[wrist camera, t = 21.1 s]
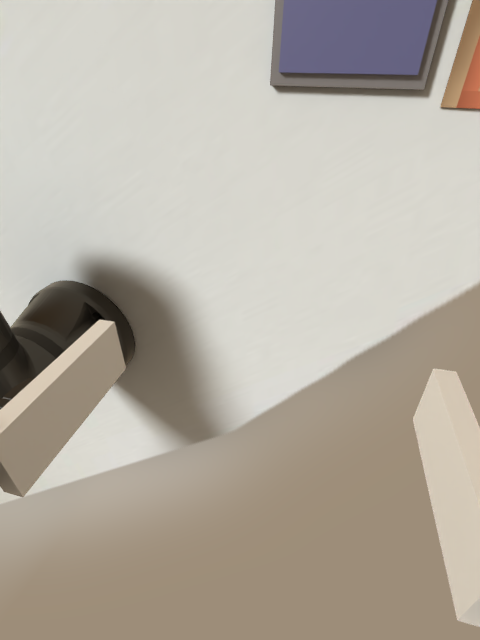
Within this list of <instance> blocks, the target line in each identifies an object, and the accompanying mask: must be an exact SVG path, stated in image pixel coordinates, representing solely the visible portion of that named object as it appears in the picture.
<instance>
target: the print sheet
mask: <svg viewBox="0 0 480 640" xmlns="http://www.w3.org/2000/svg"><path fill="white" fill-rule="evenodd" d="M441 107H451V108H477V109H480V0H473V1H472V4H471V7H470V11H469V14H468V17H467V21H466V24H465V27H464V31H463V34H462V37H461V40H460V44H459V47H458V50H457V54H456V57H455V60H454V64H453V67H452V70H451V74H450V77H449V80H448V83H447V87H446V90H445V93H444V97H443V100H442V103H441Z"/></svg>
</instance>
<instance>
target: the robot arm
mask: <svg viewBox="0 0 480 640" xmlns="http://www.w3.org/2000/svg"><path fill="white" fill-rule="evenodd" d="M134 347H135V345H134V337H133V334H132V331H131V328H130V326H129V324H128V322H127V320H126V319H125V317H124V316H123V314H122V313H121V312H120V310H119V309H118V308H117V307H116V306H115V305H114V304H113V303H112V302H111V301H110V300H109V299H108V298H106V297H105V296H104V295H102V294H101V293H100V292H98V291H97V290H95V289H93V288H91V287H89V286H87V285H84V284H82V283H78V282H74V281H58V282H54V283H52V284H50V285H49V286H47V287H45V288H44V289H42V290H40V291H39V292H38V293H36V294H35V295H34V296H33V298H32V299H31V301H30V302H29V305H28V306H27V307H26V309H25V310H24V311H23V312H22V314H21V315H20V316H19V317H18V319H17V320H16V321H15V322H14V324H13V325H12V326H11V327H10V326H9V325H8V323H7V321H6V320H5V318H4V316H3V315H2V313H1V311H0V486H1V488H2V489H3V491H4V492H7V493H10V494H14V495H17V496H21V497H24V495H25V494H26V493H27V492H28V491H29V489H30V488H31V487H32V486H33V484H34V483H35V482H36V481H37V479H38V478H39V477H40V476H41V474H42V473H43V472H44V471H45V469H46V468H47V467H48V466H49V464H50V463H51V462H52V461H53V459H54V458H55V457H56V456H57V454H58V453H59V452H60V451H61V449H62V448H63V447H64V446H65V444H66V443H67V442H68V441H69V439H70V438H71V437H72V436H73V434H74V433H75V432H76V431H77V429H78V428H79V427H80V426H81V424H82V423H83V422H84V421H85V419H86V418H87V417H88V416H89V414H90V413H91V412H92V411H93V409H94V408H95V407H96V406H97V404H98V403H99V402H100V401H101V399H102V398H103V397H104V396H105V394H106V393H107V392H108V391H109V389H110V388H111V387H112V386H113V384H114V383H115V382H116V381H117V379H118V378H119V377H120V376H121V374H122V373H123V372H124V371H125V369H126V365H127V364H128V363H129V362H130V360H131V359H132V357H133V354H134ZM413 422H414V427H415V431H416V436H417V440H418V445H419V449H420V453H421V458H422V463H423V467H424V472H425V476H426V481H427V486H428V490H429V494H430V499H431V504H432V508H433V513H434V517H435V521H436V526H437V531H438V535H439V539H440V544H441V549H442V553H443V558H444V562H445V567H446V571H447V576H448V581H449V585H450V590H451V594H452V599H453V603H454V608H455V612H456V616H457V620H458V621H461V622H465V623H468V624H471V625H475V626H478V627H480V427H479V425H478V422H477V420H476V418H475V415H474V413H473V411H472V408H471V406H470V404H469V401H468V399H467V396H466V394H465V391H464V389H463V387H462V384H461V382H460V379H459V377H458V375H457V372H455V371H448V370H440V369H433V370H432V373H431V375H430V378H429V380H428V383H427V385H426V388H425V390H424V393H423V395H422V398H421V400H420V403H419V405H418V408H417V410H416V413H415V415H414V418H413Z"/></svg>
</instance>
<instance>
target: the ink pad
mask: <svg viewBox="0 0 480 640" xmlns="http://www.w3.org/2000/svg"><path fill="white" fill-rule="evenodd" d="M447 3H448V0H275V15H274V31H273V47H272V63H271V79H270V85H272V86H307V87H343V88H380V89H416V90H424V88H425V84H426V80H427V77H428V73H429V69H430V66H431V62H432V58H433V55H434V51H435V47H436V44H437V40H438V36H439V33H440V29H441V25H442V22H443V18H444V14H445V11H446V7H447Z"/></svg>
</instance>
